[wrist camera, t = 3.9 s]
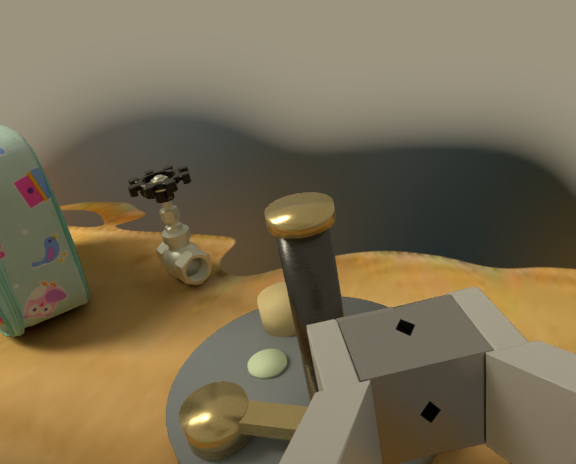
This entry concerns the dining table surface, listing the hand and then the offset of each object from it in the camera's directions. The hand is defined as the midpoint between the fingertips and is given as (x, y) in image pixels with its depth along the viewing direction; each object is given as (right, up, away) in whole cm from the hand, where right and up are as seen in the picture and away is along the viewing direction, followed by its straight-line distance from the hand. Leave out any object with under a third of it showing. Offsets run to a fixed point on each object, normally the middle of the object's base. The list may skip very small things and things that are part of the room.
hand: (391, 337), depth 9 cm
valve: (-13, -3, +48) cm, 50 cm away
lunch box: (-33, -6, +51) cm, 61 cm away
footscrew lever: (-3, -11, +23) cm, 26 cm away
